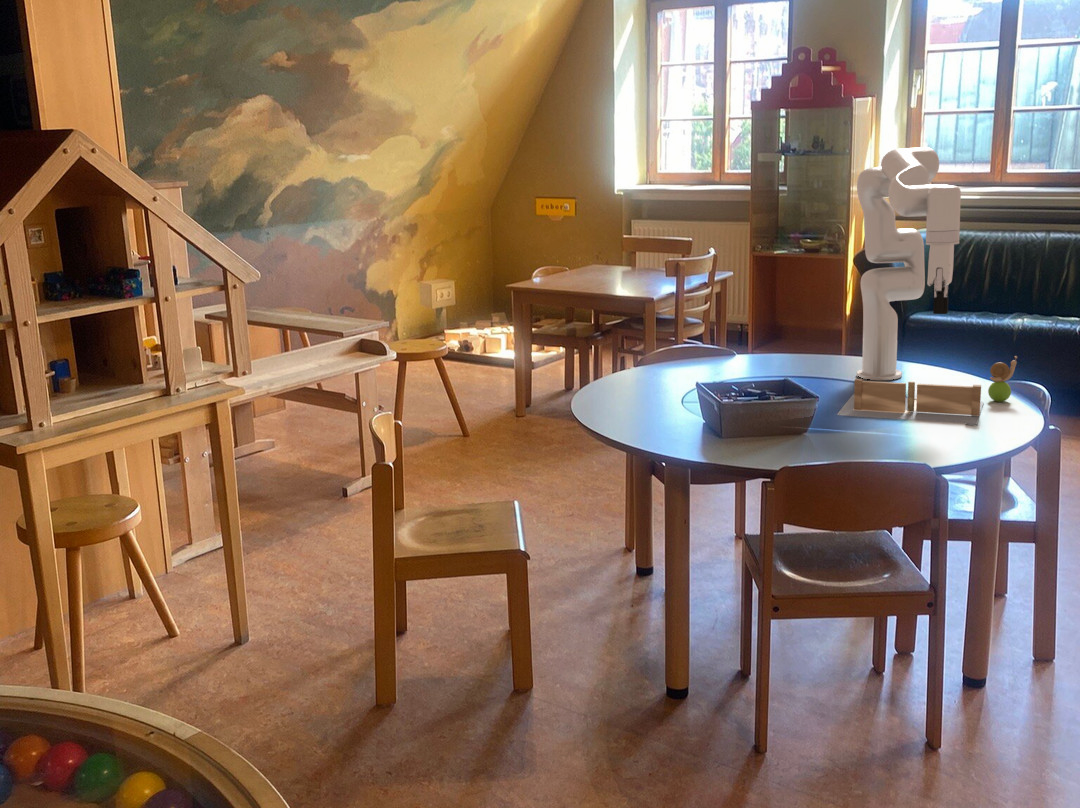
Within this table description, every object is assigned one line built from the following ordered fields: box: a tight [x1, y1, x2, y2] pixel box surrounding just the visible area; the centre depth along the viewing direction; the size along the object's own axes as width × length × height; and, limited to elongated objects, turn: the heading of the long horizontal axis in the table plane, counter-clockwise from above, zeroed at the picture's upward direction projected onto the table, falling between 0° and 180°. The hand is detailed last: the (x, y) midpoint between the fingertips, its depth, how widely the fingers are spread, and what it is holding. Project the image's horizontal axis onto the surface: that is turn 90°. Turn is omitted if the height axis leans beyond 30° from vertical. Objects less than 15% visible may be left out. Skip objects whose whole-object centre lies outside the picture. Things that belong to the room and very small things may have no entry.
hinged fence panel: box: [907, 381, 982, 417], centre depth 256 cm, size 2×17×7 cm, turn 63°
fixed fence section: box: [853, 378, 907, 412], centre depth 263 cm, size 2×12×8 cm, turn 63°
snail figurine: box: [987, 355, 1018, 403], centre depth 266 cm, size 5×6×12 cm
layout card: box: [836, 394, 984, 426], centre depth 264 cm, size 22×33×1 cm, turn 63°
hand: (940, 313), depth 252 cm, fingers closed
